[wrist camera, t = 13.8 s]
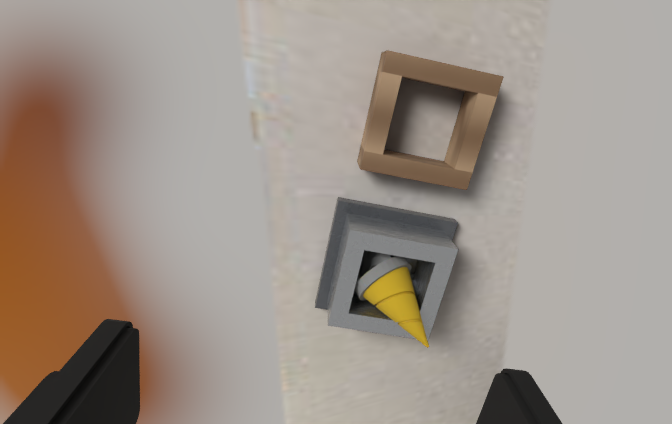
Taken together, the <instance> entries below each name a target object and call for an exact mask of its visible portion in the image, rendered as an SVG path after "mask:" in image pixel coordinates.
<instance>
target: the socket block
mask: <svg viewBox="0 0 672 424" xmlns="http://www.w3.org/2000/svg"><path fill="white" fill-rule="evenodd" d="M402 78H406V79H410V80H415V81H419V82H424V83H429V84H433V85H438V86H442V87H447V88H451V89H456V90H460V91H465V93H464V96H463V100H462V103H461V106H460V110H459V113H458V116H457V120H456V123H455V126H454V130H453V133H452V137H451V140H450V143H449V147H448V150H447V153H446V157H445V160H444V161H439V160H434V159H429V158H424V157H419V156H415V155H410V154H405V153H400V152H395V151H390V150H385V149H384V148H385V144H386V140H387V136H388V132H389V128H390V124H391V119H392V115H393V111H394V107H395V103H396V99H397V95H398V91H399V87H400V83H401V79H402ZM502 80H503V76H498V75H494V74H490V73H485V72H481V71H476V70H472V69H467V68H463V67H459V66H454V65H450V64H445V63H441V62H436V61H432V60H428V59H423V58H419V57H414V56H410V55H406V54H401V53H397V52H392V51H388V50H387V51H385V52H382V54H381V58H380V63H379V67H378V71H377V76H376V80H375V85H374V89H373V94H372V98H371V103H370V107H369V112H368V116H367V120H366V125H365V129H364V134H363V138H362V143H361V147H360V152H359V156H358V160H357V162H358V165H359V167H360V169H361V170H366V171H372V172H377V173H382V174H387V175H392V176H397V177H402V178H407V179H412V180H418V181H423V182H428V183H433V184H438V185H443V186H448V187H453V188H459V189H464V190H467V188H468V185H469V182H470V179H471V176H472V173H473V170H474V166H475V163H476V160H477V157H478V154H479V151H480V148H481V145H482V142H483V139H484V136H485V132H486V129H487V126H488V123H489V120H490V117H491V114H492V111H493V108H494V105H495V102H496V98H497V95H498V92H499V89H500V86H501V83H502Z"/></svg>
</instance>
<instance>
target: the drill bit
mask: <svg viewBox="0 0 672 424" xmlns="http://www.w3.org/2000/svg"><path fill="white" fill-rule="evenodd" d="M411 268H412V266H411V264H410V263H409V262H408V260H407V259H406V257H400V256H395V257H391V256H390V255H389V254H383V253H377V252H369V253H368V252H367V251H366V250H364V253H363V257H362V266H361V278H360V279H359V280H358V281H357V283H356V285H355V289H354V290H355V292H356V293H357V295H358V297H359V298H360V300H368V301H369V302H370V303H372V304H373V305H376V307H377V308H378V309H379V310H380V311H382V312H383V313H384V314H385V315H387V316H388V317H389V318H391V319H392V320H393V321H394V322H399V323H398V325H399V326H401V327H402V328H403V329H404V330H406V331H407V332H408V333H409V334H411V335H412V336H413V337H415V338H416V339H417V340H418V341H420V342H422V344H423V345H425V346H426V347H427V348H428V347H429V344H428V341H427V337H426V333H425V329H424V326H423V322H422V318H421V314H420V311H419V307H418V303H417V300H416V296H415V292H414V288H413V285H412V281H411V277H410V274H409V272H410V270H411Z"/></svg>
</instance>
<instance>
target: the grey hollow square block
mask: <svg viewBox="0 0 672 424" xmlns="http://www.w3.org/2000/svg"><path fill="white" fill-rule="evenodd" d="M457 224H458V222H457V221H456V220H455V219H452V218H446V217H441V216H436V215H430V214H425V213H420V212H414V211H409V210H404V209H398V208H393V207H388V206H382V205H377V204H372V203H366V202H361V201H356V200H350V199H345V198H340V197H338V199H337V204H336V208H335V213H334V218H333V222H332V227H331V232H330V236H329V241H328V246H327V250H326V255H325V259H324V264H323V269H322V273H321V278H320V283H319V287H318V292H317V297H316V301H315V308H321V309H327V310H328V325H329V326H335V327H341V328H348V329H354V330H361V331H367V332H373V333H380V334H386V335H393V336H399V337H405V338H412V339H416V338H415V337H413V336H412V335H411V334H409V333H408V332H407V331H406V330H404V329H403V328H402V327H401V326H399V325H398V323H399V322H394V321H393V320H392V319H391V318H389V317H388V316H387V315H385V314H384V313H383V312H382V311H380V310H379V309H378V308H377V307H376V305H373V304H372V303H370V302H369V301H368V300H360V298H359V297H358V295H357V293H356V292H355V290H354V289H355V285H356V283H357V281H358V280H359V279H360V278H361V266H362V257H363V253H364V250H366V251H367V252H368V253H369V252H377V253H383V254H389V255H390V256H391V257H395V256H400V257H406V259H407V260H408V262H409V263H410V264H411V266H412V268H411V270H410V272H409V274H410V277H411V281H412V285H413V288H414V292H415V296H416V300H417V303H418V307H419V311H420V314H421V318H422V322H423V326H424V329H425V333H426V337H427V341H428V339H429V336H430V333H431V330H432V327H433V324H434V321H435V318H436V315H437V312H438V309H439V306H440V303H441V300H442V297H443V294H444V291H445V288H446V285H447V282H448V279H449V276H450V273H451V270H452V267H453V264H454V261H455V258H456V255H457V252H458V248H457V247H456V246H455V244H454V243H453V242H452V239H453V236H454V233H455V230H456V227H457Z"/></svg>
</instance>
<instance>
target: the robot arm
mask: <svg viewBox="0 0 672 424" xmlns="http://www.w3.org/2000/svg"><path fill="white" fill-rule="evenodd" d="M139 379H140V374H139V330H138V329H135V328H133V325H132V323H131V322H127V321H119V320H111V319H106V320H104V321H103V322H102V323H101V324H100V325H99V326H98V328H97V329H96V330H95V331H94V332H93V333H92V334H91V336H90V337H89V338H88V339H87V340H86V341H85V342H84V344H83V345H82V346H81V347H80V348H79V349H78V350H77V352H76V353H75V354H74V355H73V356H72V357H71V359H70V360H69V361H68V362H67V363H66V364H65V365H64V367H63V368H62V369H61V370H60V371H54V372H52V373H50V374H49V375H48V376H46V377H45V378H44V379H43V380H42V381H41V383H39V385H38V386H37V387H36V388H35V389H34V390H33V391H32V392H31V394H30V395H29V396H28V397H27V398H26V399H25V400H24V401H23V402H22V403H21V405H20V406H19V407H18V408H17V409H16V410H15V411H14V412H13V413H12V414H11V416H10V417H9V418H8V419H7V420H6V421H5V422H4V423H3V424H136V422H137V419H138V416H139V411H140V385H139V384H140V383H139V381H140V380H139ZM476 424H562V423H561V421H560V419H559V418H558V416H557V415H556V413H555V412H554V410H553V409H552V407H551V406H550V404H549V402H548V401H547V400H546V398H545V396H544V395H543V393H542V392H541V390H540V389H539V387H538V386H537V384H536V382H535V381H534V379H533V378H532V376H531V375H530V374H529V373H528V372H526V371H522V370H514V369H503V370H502V371H501V373H498V374H496V375H495V377H494V379H493V382H492V384H491V387H490V390H489V392H488V395H487V397H486V400H485V402H484V405H483V407H482V410H481V413H480V415H479V418H478V420H477V423H476Z"/></svg>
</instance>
